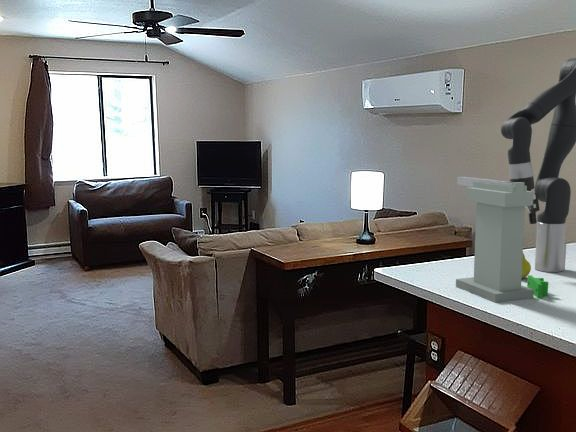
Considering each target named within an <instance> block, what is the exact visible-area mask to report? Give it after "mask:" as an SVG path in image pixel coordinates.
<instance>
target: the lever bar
mask: <svg viewBox="0 0 576 432" xmlns="http://www.w3.org/2000/svg"><path fill="white" fill-rule="evenodd" d="M473 182H482V183H491V184H499V185H508V186H512V183H513V182H510V181H506V180H497V179H491V178H490V179H488V178H479V177H471V176H469V177H468V176H457V181H456V183H457V185H458V186H464V187H469V188H472V187H473ZM457 185H456V186H457Z"/></svg>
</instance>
